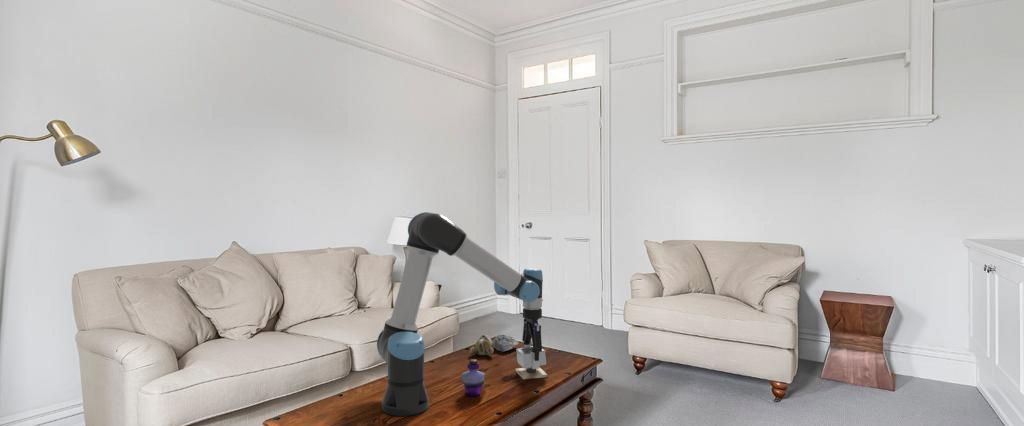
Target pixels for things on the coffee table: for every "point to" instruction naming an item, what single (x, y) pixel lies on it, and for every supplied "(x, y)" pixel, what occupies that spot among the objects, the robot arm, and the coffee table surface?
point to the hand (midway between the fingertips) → (531, 364)
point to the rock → (504, 343)
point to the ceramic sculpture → (483, 346)
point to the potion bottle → (473, 379)
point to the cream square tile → (531, 373)
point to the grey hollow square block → (529, 357)
